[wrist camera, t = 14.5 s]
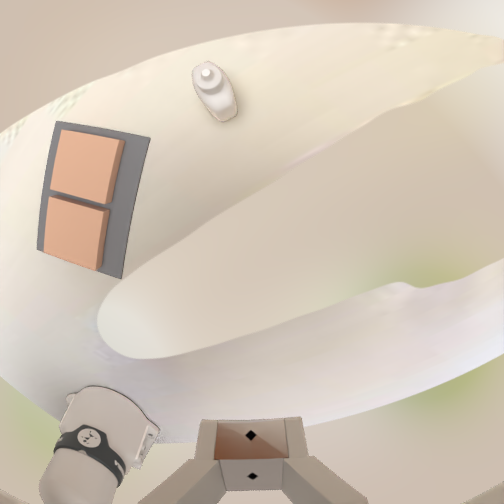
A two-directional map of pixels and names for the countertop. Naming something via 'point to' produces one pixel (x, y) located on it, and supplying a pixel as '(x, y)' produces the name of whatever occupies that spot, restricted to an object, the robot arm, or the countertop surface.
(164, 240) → the countertop surface
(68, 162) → the tile
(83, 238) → the tile
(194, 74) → the eye dropper bottle
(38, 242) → the mat
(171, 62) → the countertop surface
